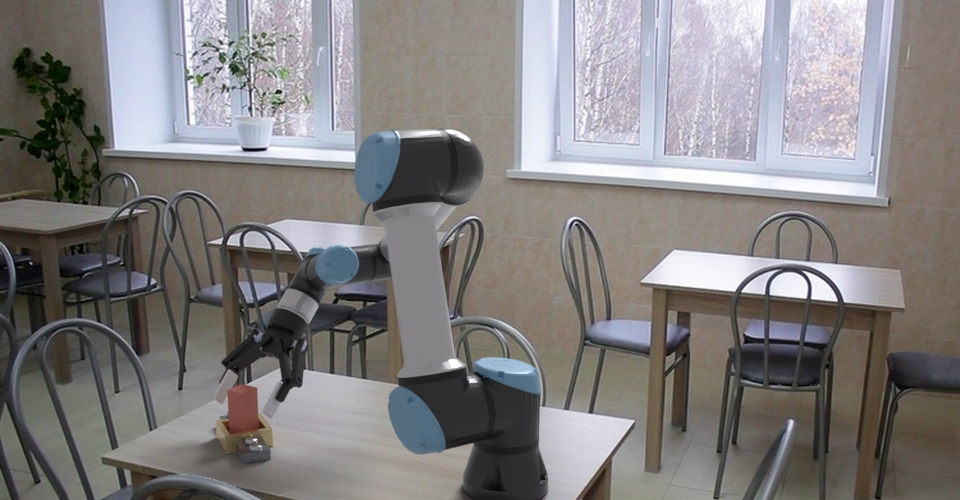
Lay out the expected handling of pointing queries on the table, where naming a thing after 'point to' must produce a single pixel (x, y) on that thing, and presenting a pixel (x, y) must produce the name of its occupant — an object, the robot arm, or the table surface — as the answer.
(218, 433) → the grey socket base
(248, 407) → the link pin
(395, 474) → the table surface
